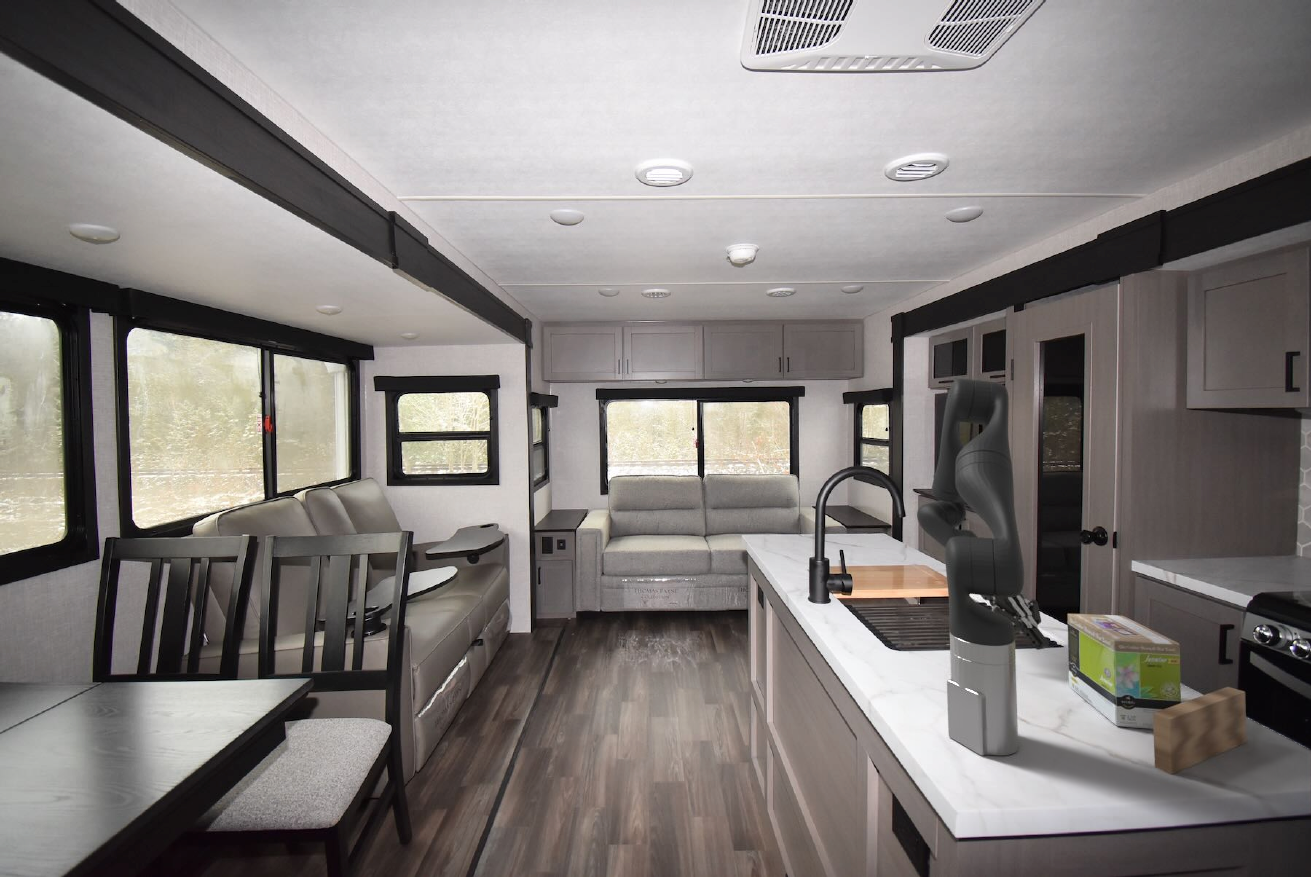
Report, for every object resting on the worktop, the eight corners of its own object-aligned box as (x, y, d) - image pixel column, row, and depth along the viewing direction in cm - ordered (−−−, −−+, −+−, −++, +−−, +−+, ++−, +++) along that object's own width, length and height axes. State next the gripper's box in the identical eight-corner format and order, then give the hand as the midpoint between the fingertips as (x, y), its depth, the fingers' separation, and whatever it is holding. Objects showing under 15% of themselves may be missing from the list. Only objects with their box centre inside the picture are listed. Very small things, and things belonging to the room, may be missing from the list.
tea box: (1185, 732, 89) (1182, 642, 89) (1115, 727, 91) (1112, 640, 91) (1125, 689, 104) (1123, 613, 104) (1066, 686, 106) (1064, 611, 106)
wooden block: (1171, 774, 79) (1169, 719, 79) (1154, 766, 81) (1153, 713, 81) (1246, 742, 86) (1245, 691, 86) (1229, 735, 88) (1228, 686, 88)
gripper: (975, 568, 117) (1034, 644, 106) (1017, 561, 122) (1079, 633, 110) (954, 586, 122) (1008, 661, 111) (996, 579, 127) (1052, 650, 115)
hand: (1043, 647), depth 110 cm, fingers closed
